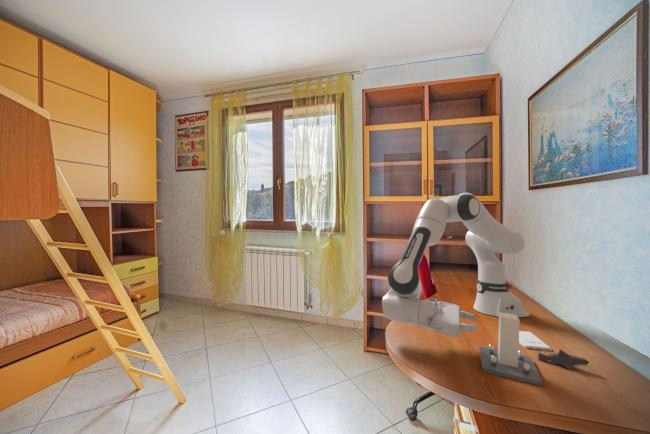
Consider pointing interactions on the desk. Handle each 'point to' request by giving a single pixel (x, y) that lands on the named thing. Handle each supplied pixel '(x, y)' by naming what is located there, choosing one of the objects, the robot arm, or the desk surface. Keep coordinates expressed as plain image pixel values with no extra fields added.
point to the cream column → (508, 339)
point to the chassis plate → (522, 373)
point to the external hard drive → (532, 341)
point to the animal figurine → (563, 359)
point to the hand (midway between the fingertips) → (476, 323)
